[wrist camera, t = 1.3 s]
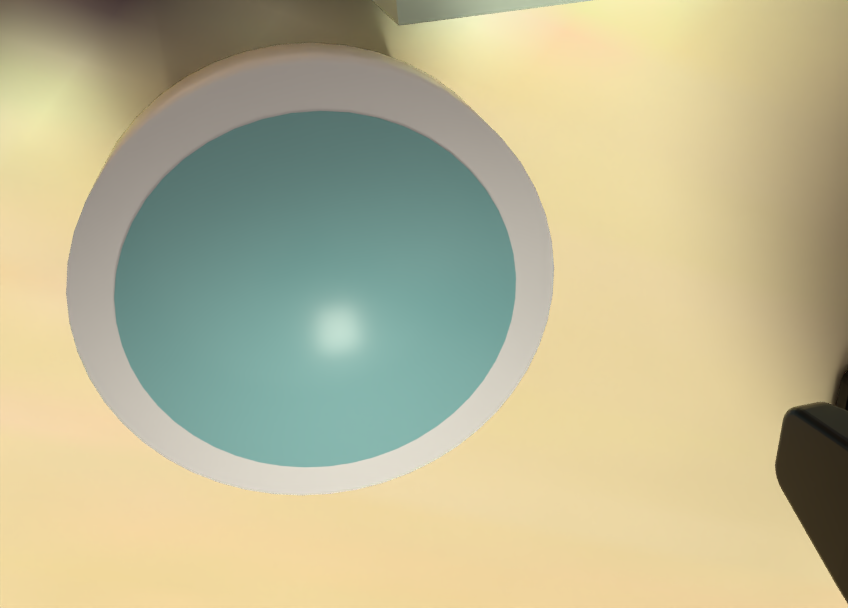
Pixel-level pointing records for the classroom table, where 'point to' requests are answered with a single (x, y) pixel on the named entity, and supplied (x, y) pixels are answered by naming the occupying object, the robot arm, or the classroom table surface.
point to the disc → (308, 271)
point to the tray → (455, 8)
